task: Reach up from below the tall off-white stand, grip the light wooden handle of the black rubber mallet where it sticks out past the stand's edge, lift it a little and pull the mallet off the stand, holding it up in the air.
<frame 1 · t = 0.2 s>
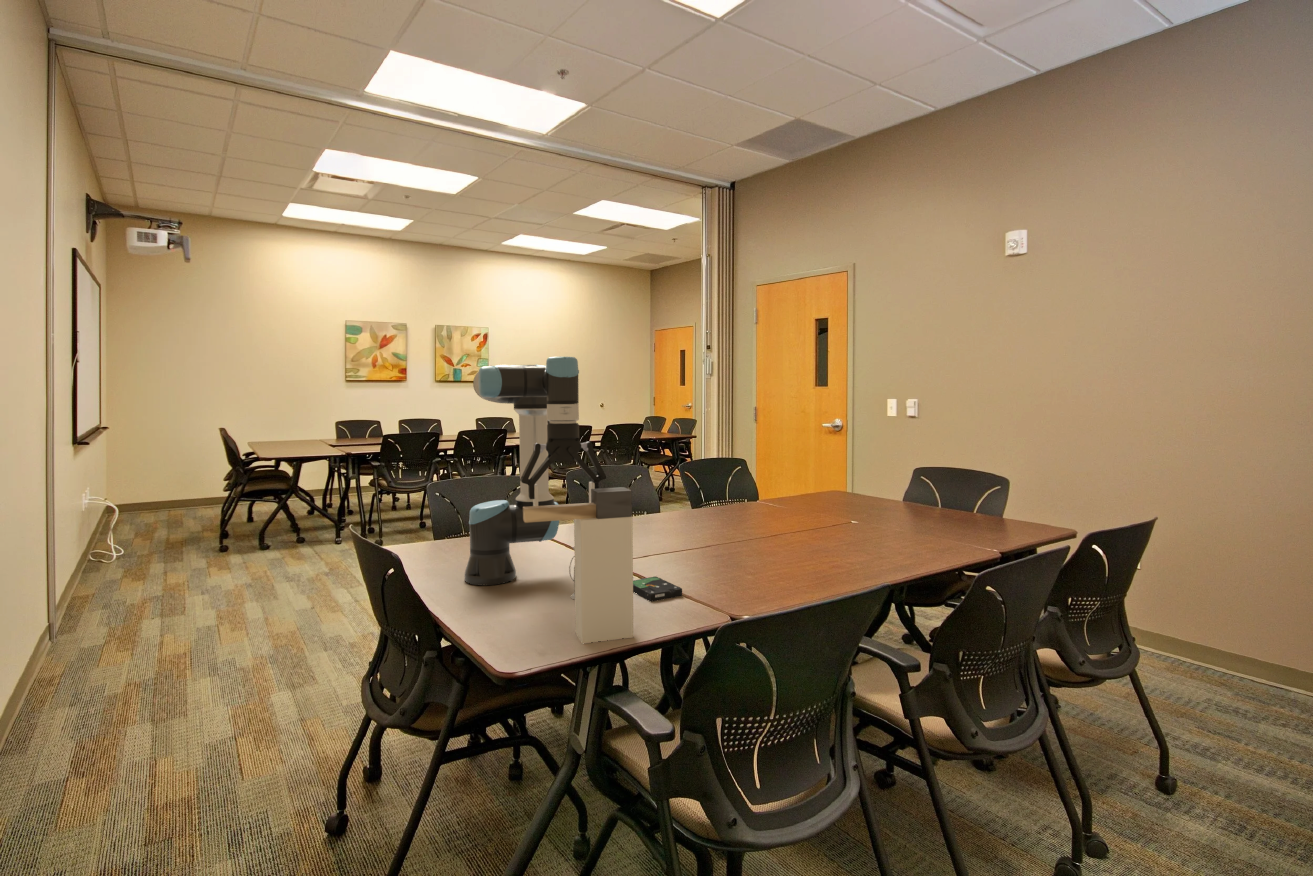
hand: (564, 511, 163), 28 cm above the table, tool pointing down, fingers open, 13 cm apart
stand: (604, 635, 158), on the table
disk drive: (653, 594, 193), on the table
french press: (586, 597, 188), on the table
mallet: (611, 515, 157), point 28 cm above the table, touching stand
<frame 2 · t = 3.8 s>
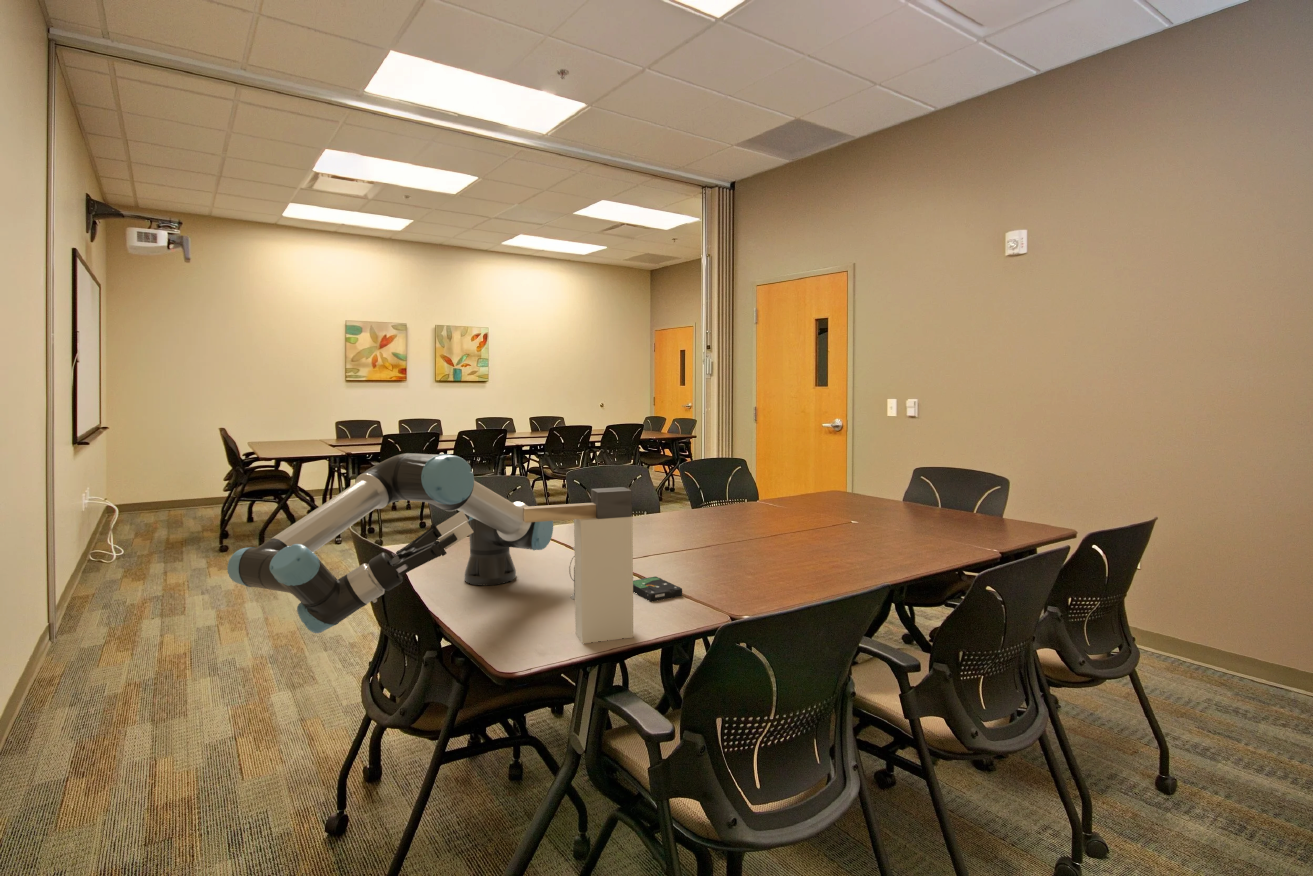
hand: (467, 520, 147), 29 cm above the table, tool pointing upward, fingers open, 13 cm apart
nothing on the table moved.
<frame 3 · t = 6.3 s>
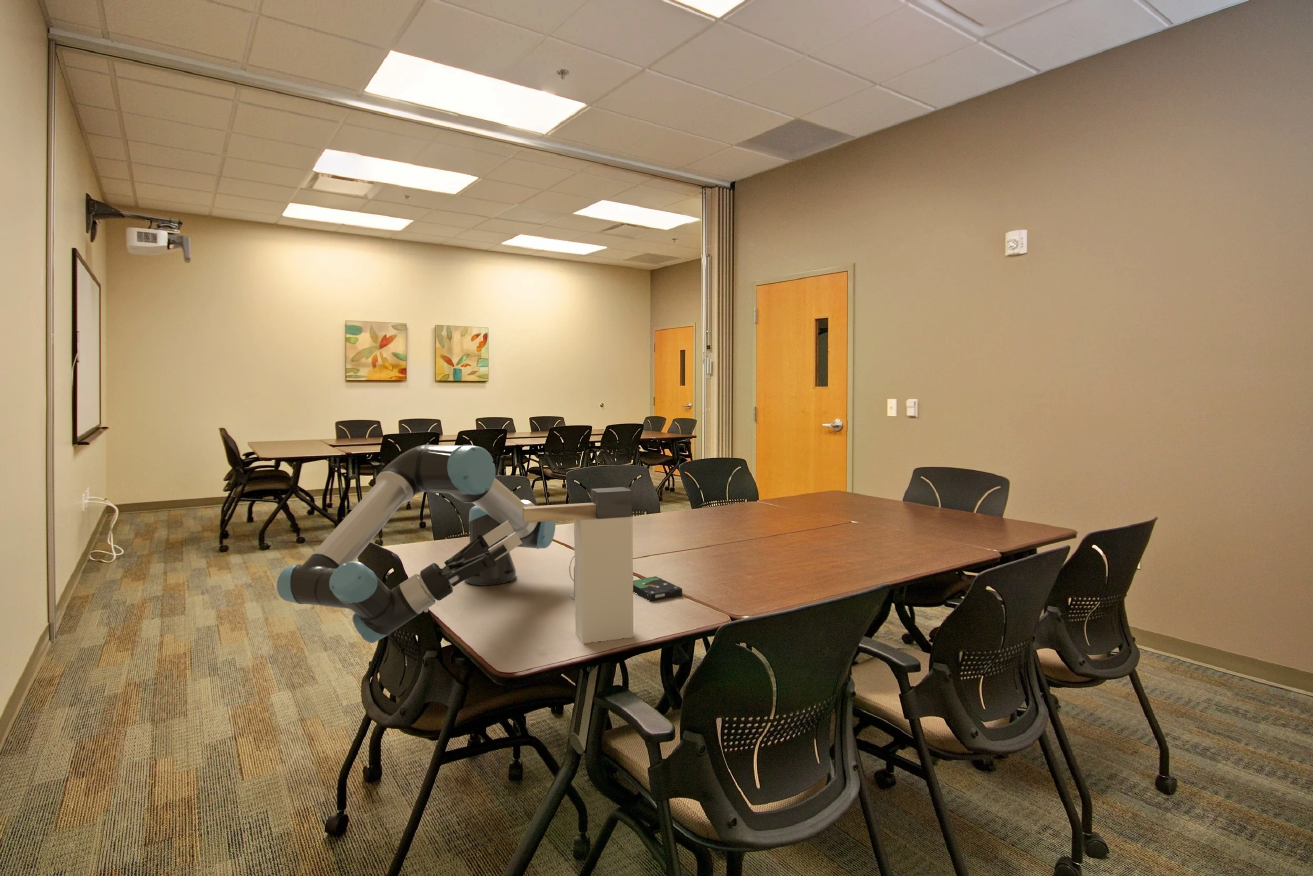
hand: (514, 531, 150), 26 cm above the table, tool pointing upward, fingers open, 13 cm apart
nothing on the table moved.
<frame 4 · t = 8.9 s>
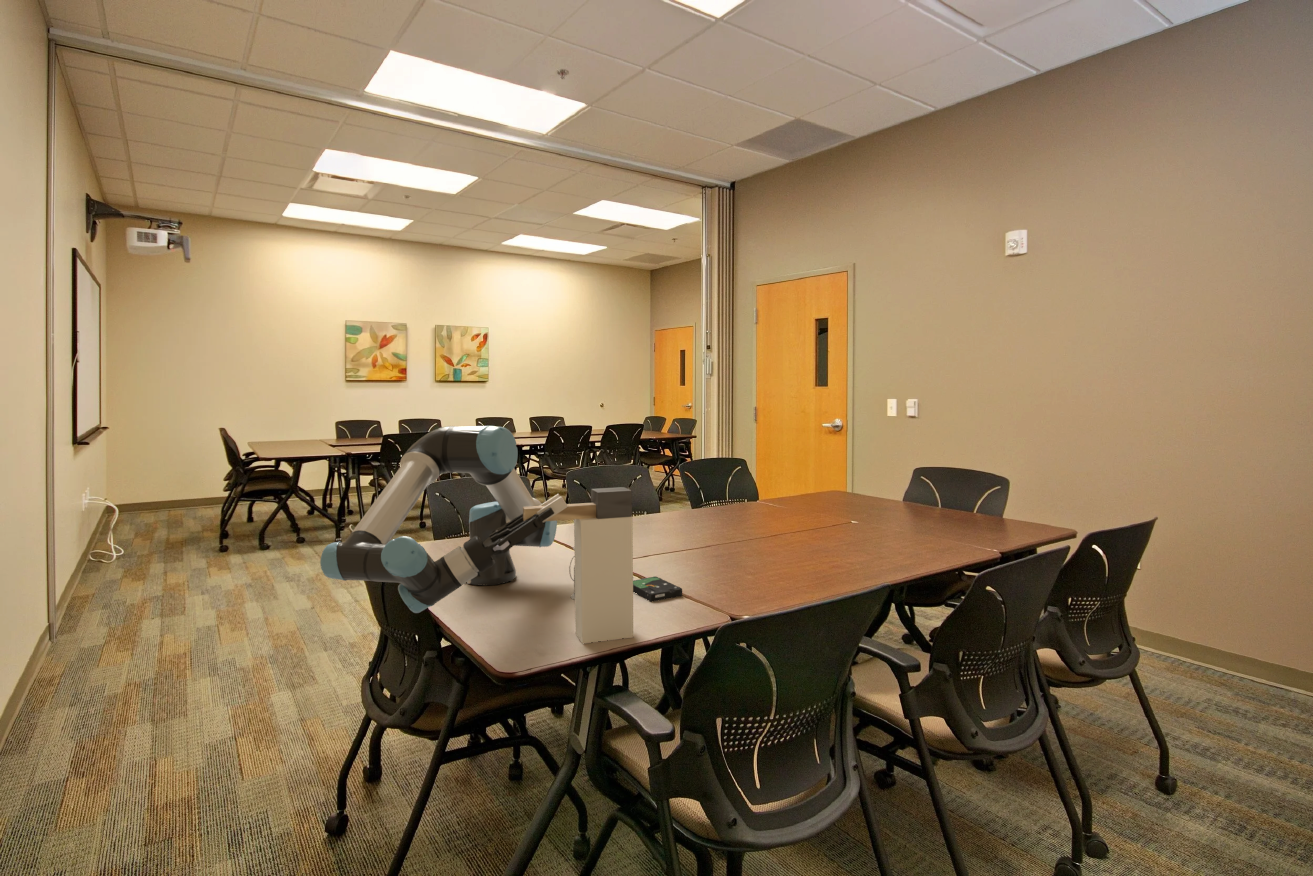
hand: (562, 500, 153), 32 cm above the table, tool pointing upward, fingers closed on mallet, 3 cm apart
mallet: (611, 515, 157), point 28 cm above the table, touching gripper, stand
everything else where it was.
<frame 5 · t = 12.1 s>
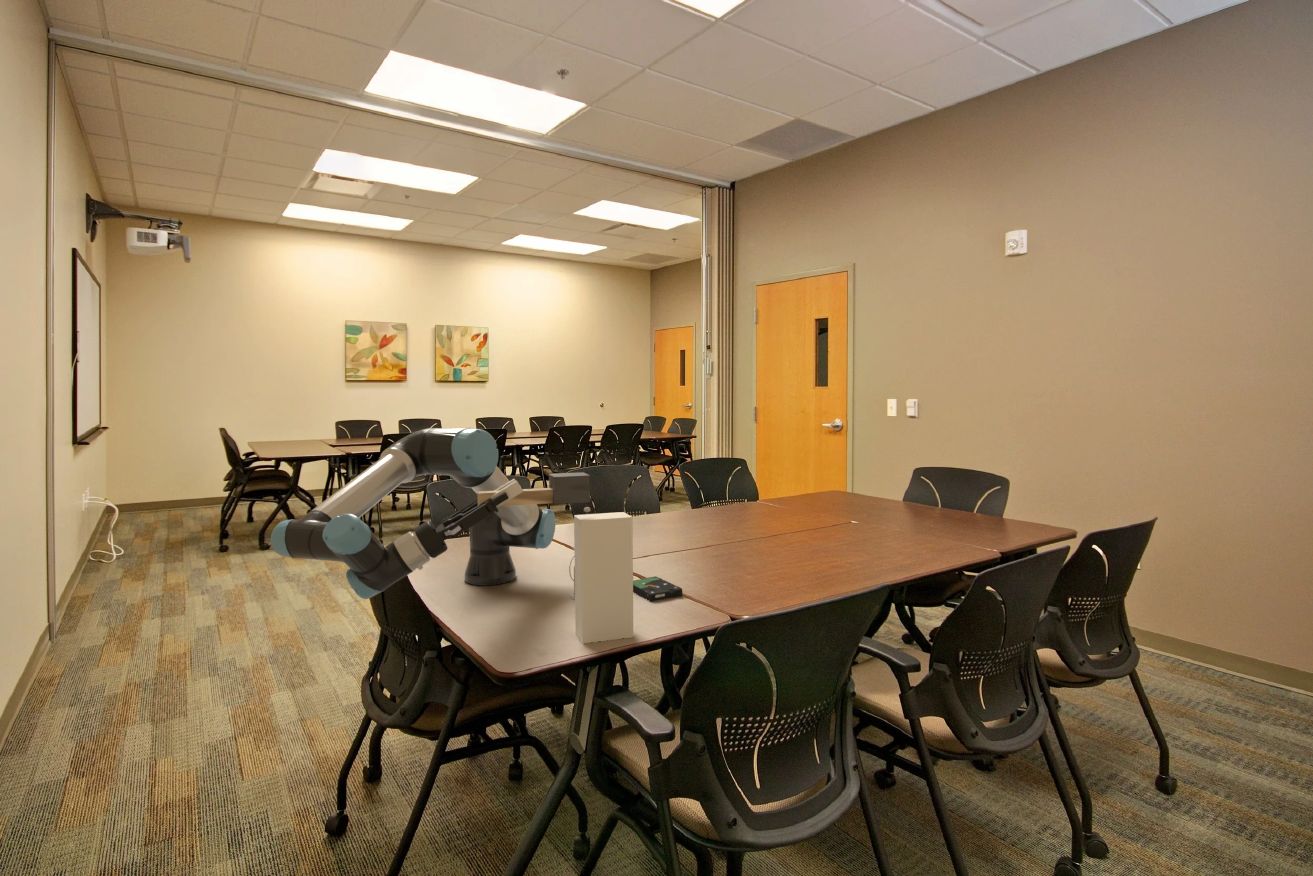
hand: (518, 484, 150), 36 cm above the table, tool pointing upward, fingers closed on mallet, 3 cm apart
mallet: (569, 501, 154), point 32 cm above the table, touching gripper
everything else where it was.
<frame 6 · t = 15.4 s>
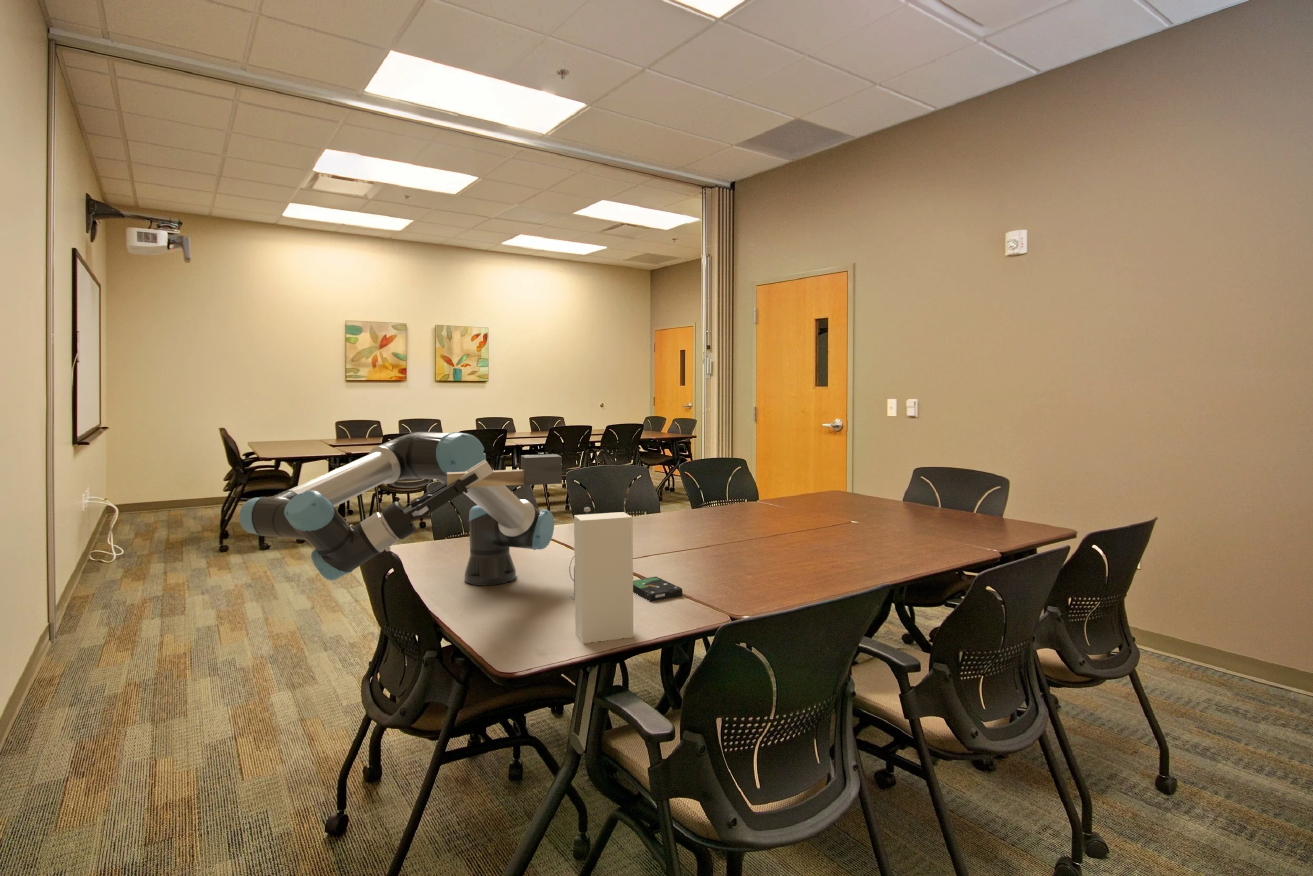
hand: (489, 465, 147), 41 cm above the table, tool pointing upward, fingers closed on mallet, 3 cm apart
mallet: (541, 482, 151), point 36 cm above the table, touching gripper
everything else where it was.
at the end: the gripper is holding mallet; mallet moved 18.1 cm from its start; mallet touching gripper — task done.
